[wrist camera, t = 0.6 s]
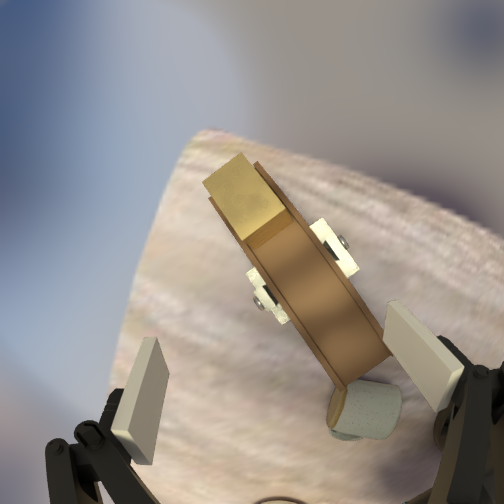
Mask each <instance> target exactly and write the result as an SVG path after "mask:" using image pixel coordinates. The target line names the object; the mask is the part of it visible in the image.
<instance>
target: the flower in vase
mask: <svg viewBox="0 0 504 504" xmlns="http://www.w3.org/2000/svg"><path fill="white" fill-rule="evenodd" d="M261 504H296V503H293V502H288V501H268V502H264V503H261Z"/></svg>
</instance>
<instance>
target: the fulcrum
mask: <svg viewBox="0 0 504 504" xmlns="http://www.w3.org/2000/svg"><path fill="white" fill-rule="evenodd" d="M310 228H311V229H312V230H313V232H314V233H315V234H316V236H317V237H318V238H319V240H320V241H321V242H322V244H323V245H324V246H325V248H326V249H327V251H328V252H329V253H330V255H331V256H332V257H333V259H334V260H335V261H336V263H337V264H338V266H339V267H340V268H341V270H342V271H343V273H344V274H345V275H346V277H347V278H349V277H350V276H351V275H353V274H354V273H355V272H357V271H358V270H359V267H358V266H357V265H356V263H355V262H354V260H353V259H352V257H351V256H350V255H349V253H348V252H347V249H348V248H349V245H348V243H347V242H346V240H345V239H344V238H343V237H342V236H341V235H339V236H337V237H336V235H335V234H334V232H333V231H332V230H331V228H330V227H329V226H328V224H327V223H326V222H325V220H324V219H323V218H320V219H319V220H318V221H316V222H315V223H314V224H312V225H311V226H310ZM245 274H246V275H247V277H248V278H249V279H250V281H251V282H252V284H253V285H254V287H255V288H256V289H257V290H256V291H254V293H255V295H256V296H255V297H253V300H254V302H255V304H256V305H257V306H258V308H259V309H260V310H264V309H266V310H267V312H269V311H270V310H271V311H272V312H273V313H274V315H275V316H276V318H277V319H278V320H279V322H280V323H281V325H282V324H284V323H285V322H287V321H288V320H290V318H289V317H288V315H287V314H286V312H285V311H284V310H283V308H282V307H281V305H280V304H279V302H278V301H277V299H276V298H275V296H274V295H273V293H272V292H271V290H270V289H269V288H268V286H267V285H266V283H265V282H264V280H263V279H262V277H261V276H260V274H259V273H258V271H257V270H256V268H255V267H254V268H252V269H251V270H250V271H248V272H247V273H245Z"/></svg>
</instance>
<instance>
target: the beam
mask: <svg viewBox="0 0 504 504" xmlns="http://www.w3.org/2000/svg"><path fill="white" fill-rule="evenodd" d="M253 165H254V167H255V168H254V169H255V170H256V171H257V172H258V174H259V175H260V176H261V177H262V179H263V180H264V181H265V182H266V184H267V185H268V186H269V187H270V189H271V190H272V191H273V192H274V194H275V195H276V196H277V198H278V199H279V200H280V201H281V203H282V204H283V205H284V207H285V208H286V210H287V212H288V214H289V215H290V217H291V219H292V221H293V223H292V224H290V225H289V226H287V227H286V228H285V229H283V230H282V231H281V232H279V233H278V234H277V235H275V236H274V237H273V238H271V239H270V240H268V241H267V242H266V243H264V244H263V245H262V246H260V247H259V248H258V249H254V248H253V247H251V246H249V245H248V244H246V243H245V242H243V241H242V240H241V239H240V237H239V236H238V234H237V233H236V231H235V230H234V229H233V227H232V226H231V224H230V223H229V221H228V220H227V218H226V217H225V215H224V214H223V212H222V211H221V209H220V208H219V207H218V205H217V204H216V202H215V201H214V199H213V198H212V196H211V197H209V198H208V199H209V200H210V202H211V203H212V205H213V206H214V208H215V209H216V211H217V212H218V214H219V215H220V217H221V218H222V220H223V221H224V223H225V224H226V226H227V227H228V229H229V230H230V231H231V233H232V234H233V236H234V237H235V239H236V240H237V242H238V243H239V245H240V246H241V248H242V249H243V251H244V252H245V254H246V255H247V257H248V258H249V260H250V261H251V263H252V264H253V265H254V267H255V268H256V270H257V271H258V273H259V274H260V276H261V277H262V279H263V280H264V282H265V283H266V285H267V286H268V288H269V289H270V290H271V292H272V293H273V295H274V296H275V298H276V299H277V301H278V302H279V304H280V305H281V307H282V308H283V310H284V311H285V312H286V314H287V315H288V317H289V318H290V320H291V321H292V323H293V324H294V326H295V327H296V329H297V330H298V332H299V333H300V334H301V336H302V337H303V339H304V340H305V342H306V343H307V345H308V346H309V348H310V349H311V350H312V352H313V353H314V355H315V356H316V358H317V359H318V361H319V362H320V364H321V365H322V366H323V368H324V369H325V371H326V372H327V374H328V375H329V377H330V378H331V380H332V381H333V382H334V384H335V385H336V387H337V388H338V390H339V391H340V392H342V391H343V390H345V389H346V388H345V386H347V385H348V384H350V383H351V382H353V381H355V380H356V379H358V378H359V377H361V376H362V375H363V374H365V373H366V372H368V371H369V370H371V369H372V368H374V367H375V366H376V365H378V364H379V363H381V362H382V361H383V360H385V359H386V358H387V357H389V356H390V355H391V356H392V357H393V356H394V355H393V353H392V352H391V351H390V349H389V348H388V347H387V345H386V344H385V343H384V341H383V334H384V331H383V329H382V328H381V326H380V325H379V323H378V322H377V320H376V319H375V317H374V316H373V314H372V313H371V311H370V310H369V309H368V307H367V306H366V304H365V303H364V301H363V300H362V298H361V297H360V295H359V294H358V292H357V291H356V290H355V288H354V287H353V285H352V284H351V282H350V281H349V280H348V278H347V277H346V275H345V274H344V273H343V271H342V270H341V268H340V267H339V266H338V264H337V263H336V261H335V260H334V259H333V257H332V256H331V255H330V253H329V252H328V251H327V249H326V248H325V246H324V245H323V244H322V242H321V241H320V240H319V238H318V237H317V236H316V234H315V233H314V232H313V230H312V229H311V228H310V226H309V225H308V224H307V223H306V221H305V220H304V219H303V217H302V216H301V215H300V213H299V212H298V211H297V210H296V208H295V207H294V206H293V204H292V203H291V202H290V201H289V199H288V198H287V197H286V196H285V194H284V193H283V192H282V191H281V189H280V188H279V187H278V186H277V184H276V183H275V182H274V181H273V179H272V178H271V177H270V176H269V174H268V173H267V172H266V171H265V170H264V168H263V167H262V166H261V165H260V164H259V162H258V161H257V162H256V163H254V164H253Z"/></svg>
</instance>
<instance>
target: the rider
mask: <svg viewBox="0 0 504 504" xmlns="http://www.w3.org/2000/svg"><path fill="white" fill-rule="evenodd" d="M202 183H203V184H204V186H205V187H206V189H207V190H208V192H209V193H210V195H211V196H212V198H213V199H214V201H215V202H216V204H217V205H218V207H219V208H220V209H221V211H222V212H223V214H224V215H225V217H226V218H227V220H228V221H229V223H230V224H231V226H232V227H233V229H234V230H235V231H236V233H237V234H238V236H239V237H240V239H241V240H242V241H243V242H245V243H246V244H248V245H249V246H251V247H253V248H254V249H258V248H259V247H260V246H262V245H263V244H264V243H266V242H267V241H268V240H270V239H271V238H273V237H274V236H275V235H277V234H278V233H279V232H281V231H282V230H283V229H285V228H286V227H287V226H289V225H290V224H292V223H293V221H292V219H291V217H290V215H289V214H288V212H287V210H286V208H285V207H284V205H283V204H282V203H281V201H280V200H279V199H278V198H277V196H276V195H275V194H274V192H273V191H272V190H271V189H270V187H269V186H268V185H267V184H266V182H265V181H264V180H263V179H262V177H261V176H260V175H259V174H258V172H257V171H256V170H255V169H254V167H253V166H252V165H251V164H250V162H249V161H248V160H247V159H246V158H245V156H244V155H243V154H242V153H240V154H238V155H237V156H236V157H234V158H233V159H232V160H230V161H229V162H228V163H226V164H225V165H224V166H222V167H221V168H220V169H218V170H217V171H216V172H214V173H213V174H212V175H211V176H209V177H208V178H207V179H205V180H204V181H203V182H202Z"/></svg>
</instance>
